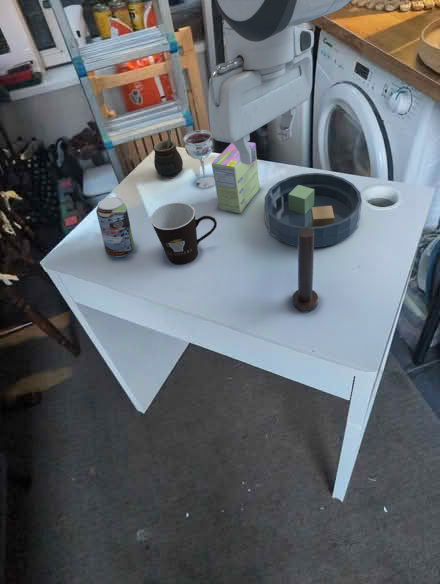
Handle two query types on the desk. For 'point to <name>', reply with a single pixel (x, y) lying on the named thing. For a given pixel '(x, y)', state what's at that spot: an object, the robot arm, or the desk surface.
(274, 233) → the bowl
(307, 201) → the sage block
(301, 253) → the tall rod on disc
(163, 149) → the mate gourd
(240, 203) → the box
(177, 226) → the coffee mug
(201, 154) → the wineglass
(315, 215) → the beech block
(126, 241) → the beverage can
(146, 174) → the desk surface
